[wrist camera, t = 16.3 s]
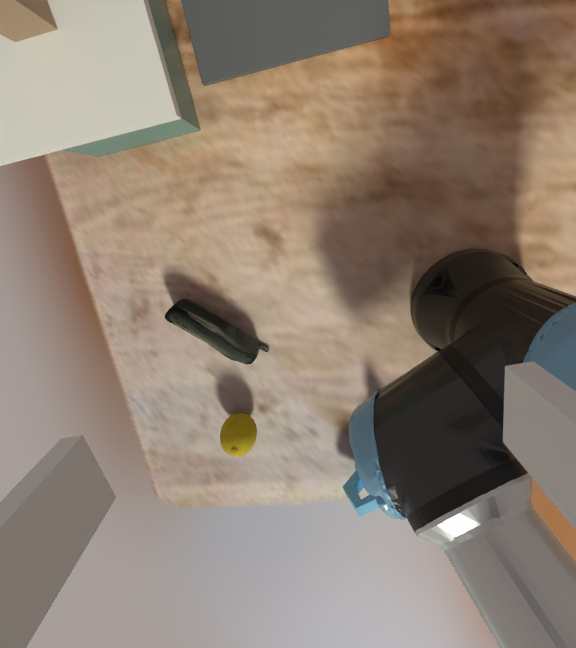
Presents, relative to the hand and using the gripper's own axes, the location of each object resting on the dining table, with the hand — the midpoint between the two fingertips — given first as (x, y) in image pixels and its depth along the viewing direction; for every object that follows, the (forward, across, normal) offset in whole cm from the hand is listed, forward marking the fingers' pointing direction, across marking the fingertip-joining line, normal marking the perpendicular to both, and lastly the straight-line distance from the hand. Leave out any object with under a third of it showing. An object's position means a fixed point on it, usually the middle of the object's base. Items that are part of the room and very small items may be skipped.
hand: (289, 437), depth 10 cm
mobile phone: (+37, +13, +9) cm, 40 cm away
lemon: (+37, +14, +25) cm, 47 cm away
